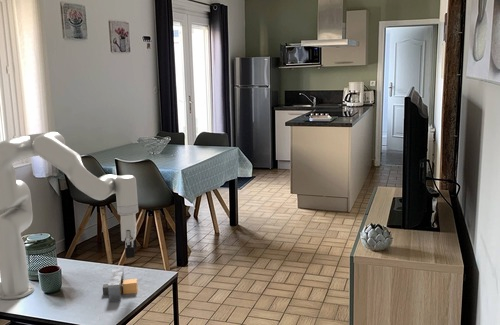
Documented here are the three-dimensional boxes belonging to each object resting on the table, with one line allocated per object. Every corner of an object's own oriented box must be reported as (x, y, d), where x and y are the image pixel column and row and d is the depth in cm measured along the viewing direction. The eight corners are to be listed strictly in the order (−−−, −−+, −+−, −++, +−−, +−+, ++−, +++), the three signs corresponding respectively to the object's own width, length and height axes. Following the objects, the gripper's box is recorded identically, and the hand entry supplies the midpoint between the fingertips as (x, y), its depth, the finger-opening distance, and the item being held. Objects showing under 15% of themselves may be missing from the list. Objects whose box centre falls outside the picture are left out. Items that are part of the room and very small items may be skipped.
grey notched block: (109, 302, 182) (107, 285, 180) (114, 284, 197) (112, 268, 196) (120, 301, 182) (119, 284, 181) (124, 283, 198) (123, 267, 197)
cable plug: (102, 295, 187) (102, 285, 186) (104, 291, 191) (103, 281, 190) (137, 292, 189) (136, 282, 188) (137, 288, 193) (137, 278, 192)
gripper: (119, 203, 193) (123, 245, 196) (114, 216, 176) (118, 262, 179) (139, 202, 194) (142, 244, 197) (136, 214, 177) (140, 260, 180)
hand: (131, 252), depth 188 cm, fingers open, 9 cm apart
